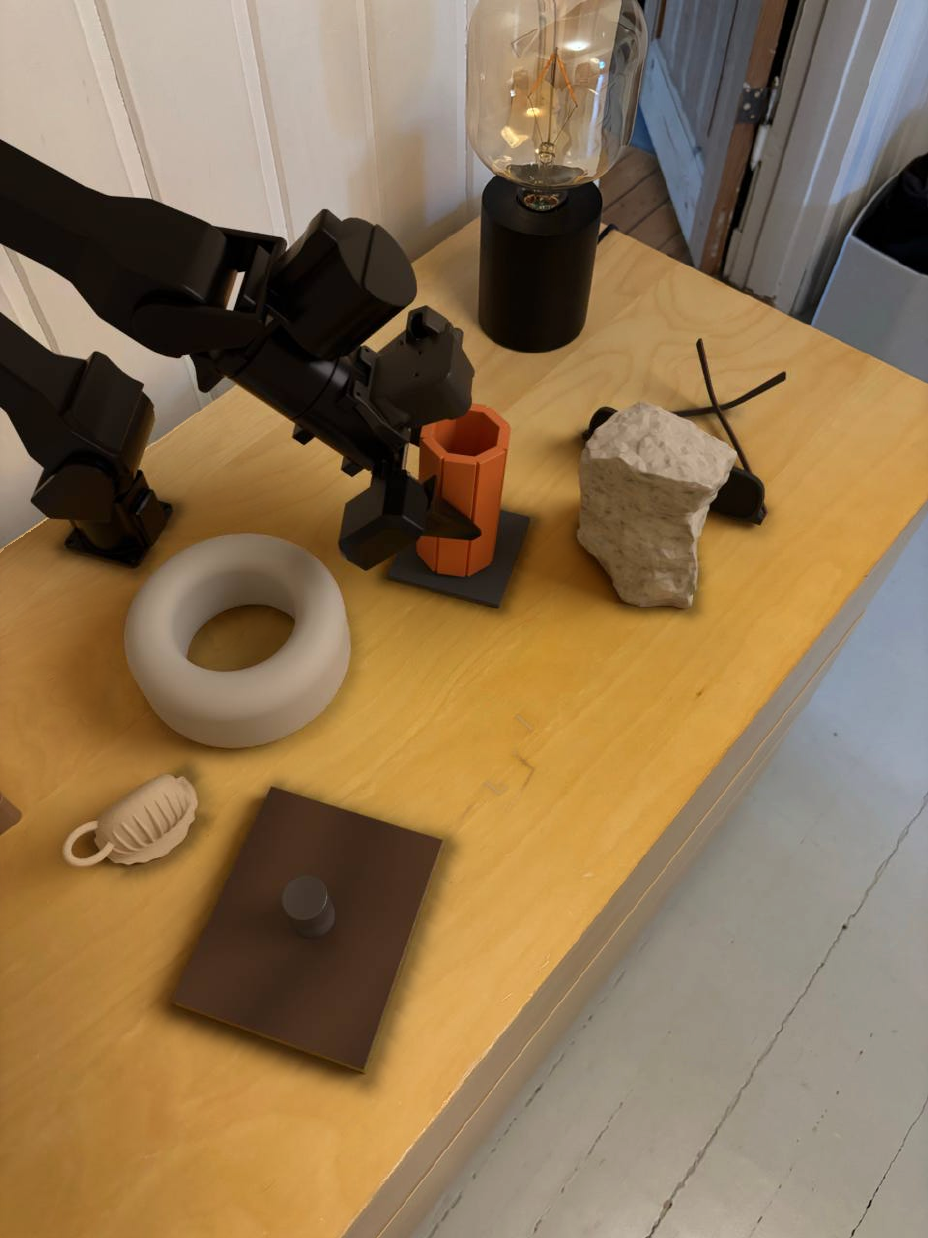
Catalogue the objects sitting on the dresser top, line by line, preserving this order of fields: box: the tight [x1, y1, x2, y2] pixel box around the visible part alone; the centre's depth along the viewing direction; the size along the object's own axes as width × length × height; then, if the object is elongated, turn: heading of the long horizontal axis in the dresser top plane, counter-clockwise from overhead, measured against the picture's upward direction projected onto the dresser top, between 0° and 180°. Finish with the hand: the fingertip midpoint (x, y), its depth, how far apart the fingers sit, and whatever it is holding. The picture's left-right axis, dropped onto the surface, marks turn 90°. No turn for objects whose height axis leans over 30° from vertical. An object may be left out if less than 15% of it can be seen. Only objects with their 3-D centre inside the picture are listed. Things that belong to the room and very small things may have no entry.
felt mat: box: [386, 509, 531, 609], centre depth 74 cm, size 9×9×1 cm
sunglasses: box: [581, 337, 787, 526], centre depth 79 cm, size 17×14×5 cm
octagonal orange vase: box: [416, 402, 512, 577], centre depth 69 cm, size 6×6×12 cm
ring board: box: [171, 786, 445, 1075], centre depth 56 cm, size 12×14×6 cm
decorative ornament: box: [61, 773, 199, 868], centre depth 59 cm, size 4×8×5 cm, turn 129°
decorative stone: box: [575, 400, 738, 610], centre depth 68 cm, size 10×9×15 cm
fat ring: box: [123, 532, 352, 749], centre depth 66 cm, size 15×15×7 cm
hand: (480, 501), depth 69 cm, fingers closed on octagonal orange vase, 6 cm apart
